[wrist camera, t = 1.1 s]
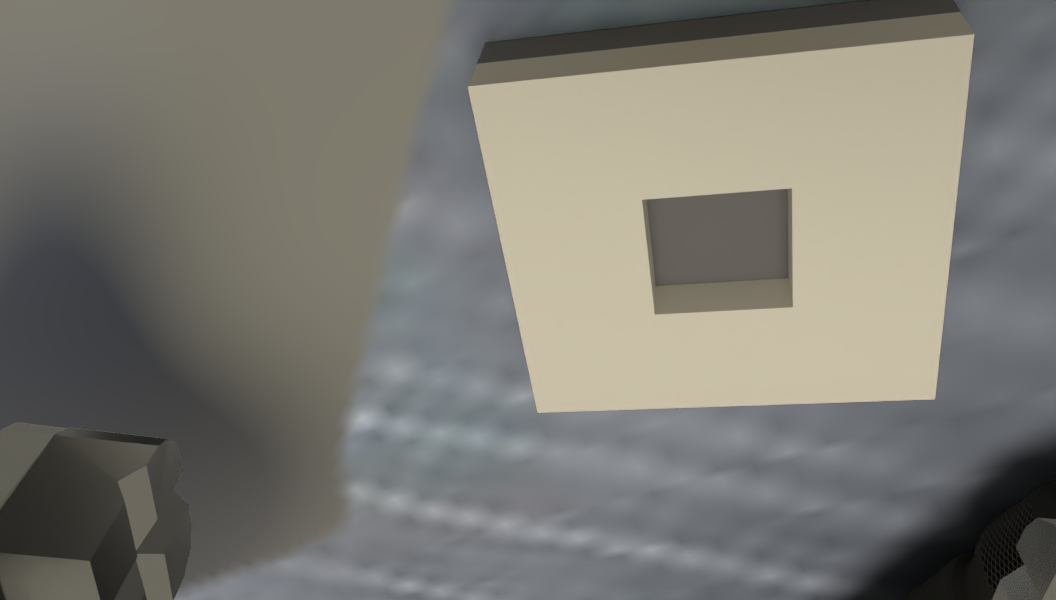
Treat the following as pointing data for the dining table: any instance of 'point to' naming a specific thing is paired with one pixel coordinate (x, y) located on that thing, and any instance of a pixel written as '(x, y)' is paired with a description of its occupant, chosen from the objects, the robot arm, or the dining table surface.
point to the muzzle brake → (989, 553)
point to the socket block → (730, 204)
